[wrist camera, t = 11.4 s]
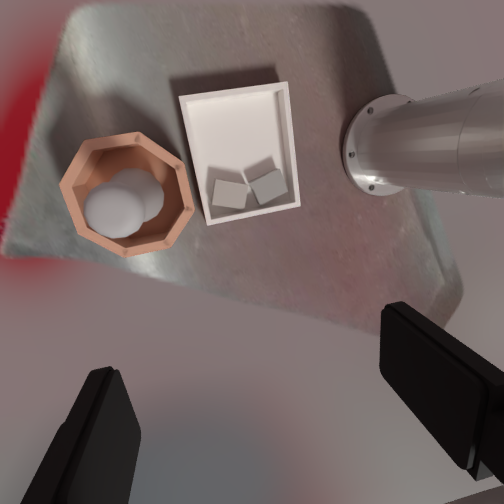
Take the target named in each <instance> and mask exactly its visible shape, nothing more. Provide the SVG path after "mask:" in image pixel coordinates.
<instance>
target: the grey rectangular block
mask: <svg viewBox="0 0 504 504" xmlns="http://www.w3.org/2000/svg"><path fill="white" fill-rule="evenodd" d="M248 183H249V186H250V188H251V190H252V192H253V195H254V197H255V199H256V202H257V204H259V205H262V204H264V203H266V202H268V201H270V200H272V199H274V198H276V197H278V196H280V195H282V194H284V193H286V192H288V188H287V186H286V183H285V181H284V178H283V175H282V173H281V170H280V169H279V168H275V169H273V170H271V171H269V172H267V173H265V174H263V175H261V176H259V177H257V178H255V179H253V180H251V181H249V182H248Z"/></svg>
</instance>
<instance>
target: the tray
mask: <svg viewBox="0 0 504 504" xmlns="http://www.w3.org/2000/svg"><path fill="white" fill-rule="evenodd" d="M179 102H180V106H181V111H182V116H183V120H184V125H185V129H186V134H187V138H188V143H189V147H190V152H191V156H192V161H193V165H194V170H195V174H196V179H197V183H198V188H199V192H200V197H201V201H202V206H203V210H204V215H205V219H206V223H207V226H208V225H213V224H217V223H222V222H227V221H232V220H236V219H241V218H246V217H251V216H256V215H260V214H265V213H270V212H275V211H279V210H284V209H289V208H294V207H299V206H300V196H299V186H298V176H297V167H296V157H295V147H294V137H293V128H292V118H291V108H290V99H289V89H288V81H287V82H280V83H273V84H265V85H258V86H250V87H243V88H236V89H228V90H221V91H214V92H206V93H199V94H192V95H184V96H179ZM275 168H279V169H280V170H281V173H282V175H283V178H284V181H285V183H286V186H287V188H288V192H286V193H284V194H282V195H280V196H278V197H276V198H274V199H272V200H270V201H268V202H266V203H264V204H262V205H259V204H257V202H256V199H255V197H254V195H253V192H252V190H251V188H250V186H248V191H247V197H246V203H245V209H237V208H231V207H224V206H218V205H212V204H211V199H212V192H213V185H214V178H215V179H220V180H226V181H231V182H237V183H243V184H247V185H249V183H248V182H249V181H251V180H253V179H255V178H257V177H259V176H261V175H263V174H265V173H267V172H269V171H271V170H273V169H275Z"/></svg>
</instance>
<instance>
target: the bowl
mask: <svg viewBox="0 0 504 504" xmlns="http://www.w3.org/2000/svg"><path fill="white" fill-rule="evenodd" d="M124 168H139V169H142V170H144V171H147V172H150V173H151V174H152V175H153V176H154V177H155V178H156V179H157V180H158V181H159V182H160V185H161V187H162V190H163V192H164V201H163V207H162V208H161V210H160V211H159V213H158V215H157V216H155V217H154V218H152V219H150V220H148V221H147V222H143V223H142V225H141V227H140V228H139V230H138V231H136V232H134V233H133V234H131V235H129V236H127V237H122V238H113V239H112V238H109V237H106V236H103V235H100V234H99V233H97V232H96V231H95V230H94V229H92V228H91V227H90V226H89V224H88V222H87V220H86V218H85V216H84V200H85V199H86V197H87V195H88V194H89V192H90V191H91V189H93V188H94V187H96V186H98V185H99V184H101V183H103V182H109V181H110V180H111V178H112V177H113V175H114V174H116V173H118V172H119V171H121V170H123V169H124ZM59 186H60V189H61V191H62V194H63V196H64V199H65V202H66V204H67V207H68V209H69V212H70V214H71V217H72V220H73V222H74V225H75V227H76V230H77V233H79V235H81V236H83V237H85V238H87V239H89V240H91V241H93V242H95V243H97V244H99V245H101V246H103V247H104V248H106V249H108V250H110V251H112V252H114V253H116V254H118V255H120V256H122V257H125V258H126V257H130V256H135V255H139V254H144V253H149V252H153V251H158V250H162V249H167V248H170V247H171V246H172V245H173V243H174V242H175V240H176V239H177V237H178V236H179V234H180V233H181V231H182V230H183V228H184V226H185V225H186V223H187V222H188V220H189V219H190V217H191V216H192V214H193V213H194V211H195V208H194V203H193V198H192V194H191V190H190V186H189V181H188V177H187V173H186V168H185V164H184V162H182V161H181V160H180V159H178V158H177V157H175V156H174V155H172V154H171V153H169V152H168V151H167V150H165V149H164V148H162V147H161V146H159V145H158V144H157V143H155V142H154V141H152V140H151V139H149V138H148V137H146V136H145V135H143V134H142V133H140V132H133V133H126V134H119V135H113V136H106V137H100V138H93V139H86V140H84V141H83V143H82V145H81V147H80V148H79V150H78V152H77V154H76V155H75V157H74V159H73V161H72V162H71V164H70V166H69V168H68V169H67V171H66V173H65V175H64V177H63V178H62V180H61V182H60V185H59Z"/></svg>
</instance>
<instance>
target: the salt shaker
mask: <svg viewBox="0 0 504 504" xmlns="http://www.w3.org/2000/svg"><path fill="white" fill-rule="evenodd" d="M163 201H164V192H163V190H162V187H161V185H160V182H159V181H158V180H157V179H156V178H155V177H154V176H153V175H152V174H151V173H150V172H147V171H144V170H142V169H139V168H124V169H123V170H121V171H119V172H118V173H116V174H114V175H113V177H112V178H111V180H110V181H109V182H103V183H101V184H99V185H98V186H96V187H94V188H93V189H91V191H90V192H89V194H88V195H87V197H86V199H85V200H84V216H85V218H86V220H87V222H88V224H89V226H90V227H91V228H92V229H94V230H95V231H96V232H97V233H99V234H100V235H103V236H106V237H109V238H112V239H113V238H122V237H127V236H129V235H131V234H133V233H134V232H136V231H138V230H139V228H140V227H141V225H142V223H143V222H147V221H148V220H150V219H152V218H154V217H155V216H157V215H158V213H159V211H160V210H161V208H162V207H163Z"/></svg>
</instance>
